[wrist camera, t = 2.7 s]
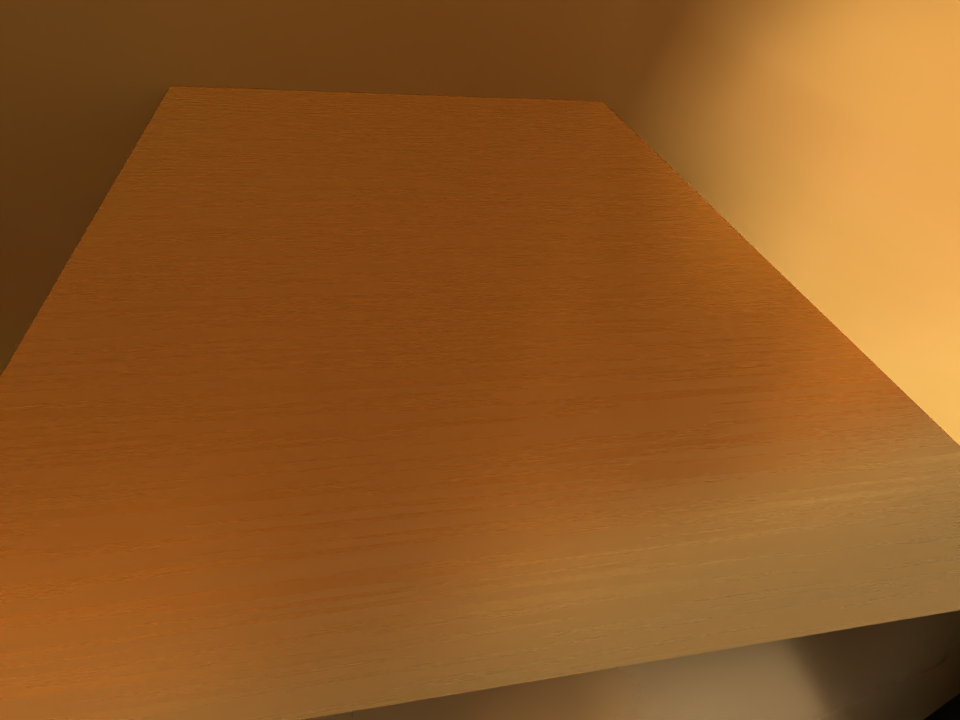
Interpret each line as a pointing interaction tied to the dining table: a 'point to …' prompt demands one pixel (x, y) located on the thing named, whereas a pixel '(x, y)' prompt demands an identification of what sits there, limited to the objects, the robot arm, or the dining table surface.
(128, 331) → the block
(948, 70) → the dining table surface
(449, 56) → the dining table surface
